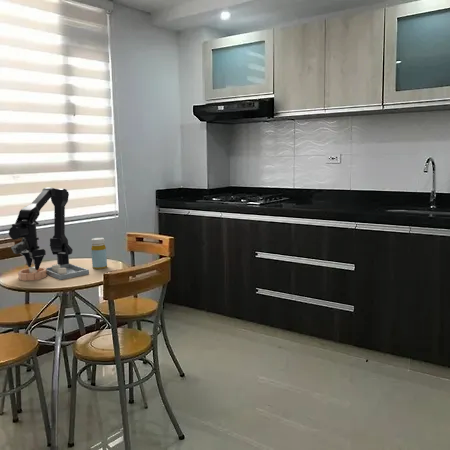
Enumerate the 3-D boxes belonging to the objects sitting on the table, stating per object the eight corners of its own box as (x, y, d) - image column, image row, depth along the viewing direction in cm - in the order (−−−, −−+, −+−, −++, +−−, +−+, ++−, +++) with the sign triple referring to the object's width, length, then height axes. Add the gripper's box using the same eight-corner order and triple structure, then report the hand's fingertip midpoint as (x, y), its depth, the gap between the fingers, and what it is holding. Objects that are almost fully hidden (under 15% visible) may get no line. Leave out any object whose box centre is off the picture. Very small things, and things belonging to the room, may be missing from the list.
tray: (42, 273, 230) (42, 268, 229) (70, 268, 239) (69, 263, 239) (60, 280, 215) (59, 275, 215) (88, 274, 224) (88, 269, 224)
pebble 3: (57, 277, 220) (56, 268, 220) (64, 275, 223) (64, 267, 222) (60, 278, 217) (60, 269, 217) (68, 276, 220) (67, 268, 219)
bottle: (103, 270, 233) (101, 239, 231) (90, 269, 234) (88, 239, 232) (109, 266, 240) (107, 237, 238) (96, 266, 241) (94, 237, 239)
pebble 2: (51, 273, 227) (50, 265, 227) (58, 272, 230) (58, 264, 229) (54, 274, 225) (54, 266, 224) (62, 273, 227) (61, 265, 227)
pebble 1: (28, 275, 224) (27, 267, 223) (36, 274, 226) (35, 266, 225) (31, 277, 221) (30, 268, 220) (39, 275, 223) (38, 267, 223)
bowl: (15, 278, 222) (14, 270, 222) (40, 273, 230) (40, 266, 230) (24, 282, 213) (24, 275, 213) (51, 277, 221) (50, 270, 221)
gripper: (5, 236, 222) (8, 268, 225) (19, 240, 209) (23, 275, 211) (29, 232, 230) (32, 264, 232) (44, 236, 216) (47, 270, 218)
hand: (33, 268), depth 223 cm, fingers open, 9 cm apart
